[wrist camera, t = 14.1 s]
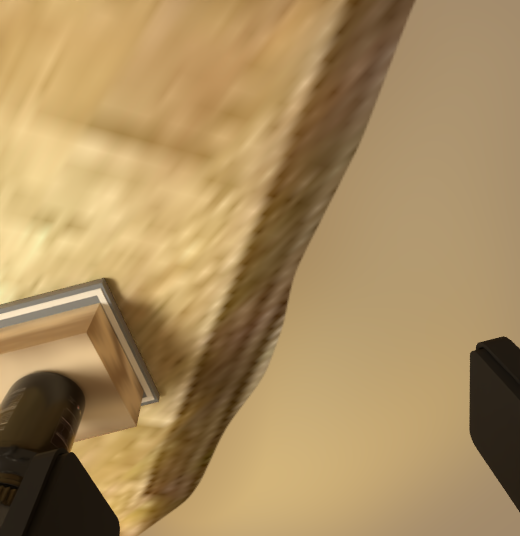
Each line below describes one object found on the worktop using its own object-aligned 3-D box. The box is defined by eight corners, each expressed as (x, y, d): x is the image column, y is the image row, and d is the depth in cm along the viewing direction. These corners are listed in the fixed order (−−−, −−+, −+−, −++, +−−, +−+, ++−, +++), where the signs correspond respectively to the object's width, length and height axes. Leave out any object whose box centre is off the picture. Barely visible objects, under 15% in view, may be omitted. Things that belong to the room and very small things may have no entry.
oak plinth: (-18, 332, 41) (-46, 366, 36) (100, 302, 41) (86, 332, 36) (40, 417, 46) (21, 455, 42) (143, 390, 46) (136, 426, 42)
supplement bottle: (21, 426, 40) (-49, 559, 29) (1, 371, 37) (-84, 497, 26) (94, 420, 41) (52, 549, 30) (81, 366, 38) (29, 487, 27)
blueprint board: (-33, 313, 41) (-39, 319, 40) (104, 278, 40) (101, 283, 40) (43, 424, 48) (39, 432, 47) (159, 395, 48) (158, 402, 47)
